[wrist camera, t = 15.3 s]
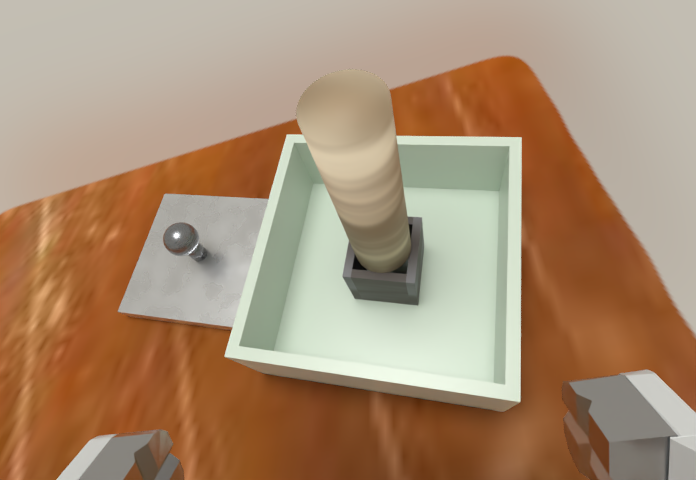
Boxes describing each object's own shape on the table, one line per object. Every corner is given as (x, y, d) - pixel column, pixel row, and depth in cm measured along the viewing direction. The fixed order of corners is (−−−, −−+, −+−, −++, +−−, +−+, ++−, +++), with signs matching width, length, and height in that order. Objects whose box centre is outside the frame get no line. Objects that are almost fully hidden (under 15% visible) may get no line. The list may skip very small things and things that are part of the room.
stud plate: (250, 333, 36) (217, 312, 30) (128, 316, 38) (79, 295, 33) (283, 207, 40) (259, 171, 35) (173, 201, 43) (136, 167, 38)
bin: (503, 411, 29) (520, 402, 23) (263, 373, 34) (224, 356, 28) (507, 189, 37) (521, 137, 31) (309, 181, 41) (286, 134, 35)
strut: (418, 305, 33) (395, 155, 16) (354, 298, 34) (272, 153, 17) (424, 246, 35) (409, 58, 18) (364, 242, 36) (298, 62, 19)
